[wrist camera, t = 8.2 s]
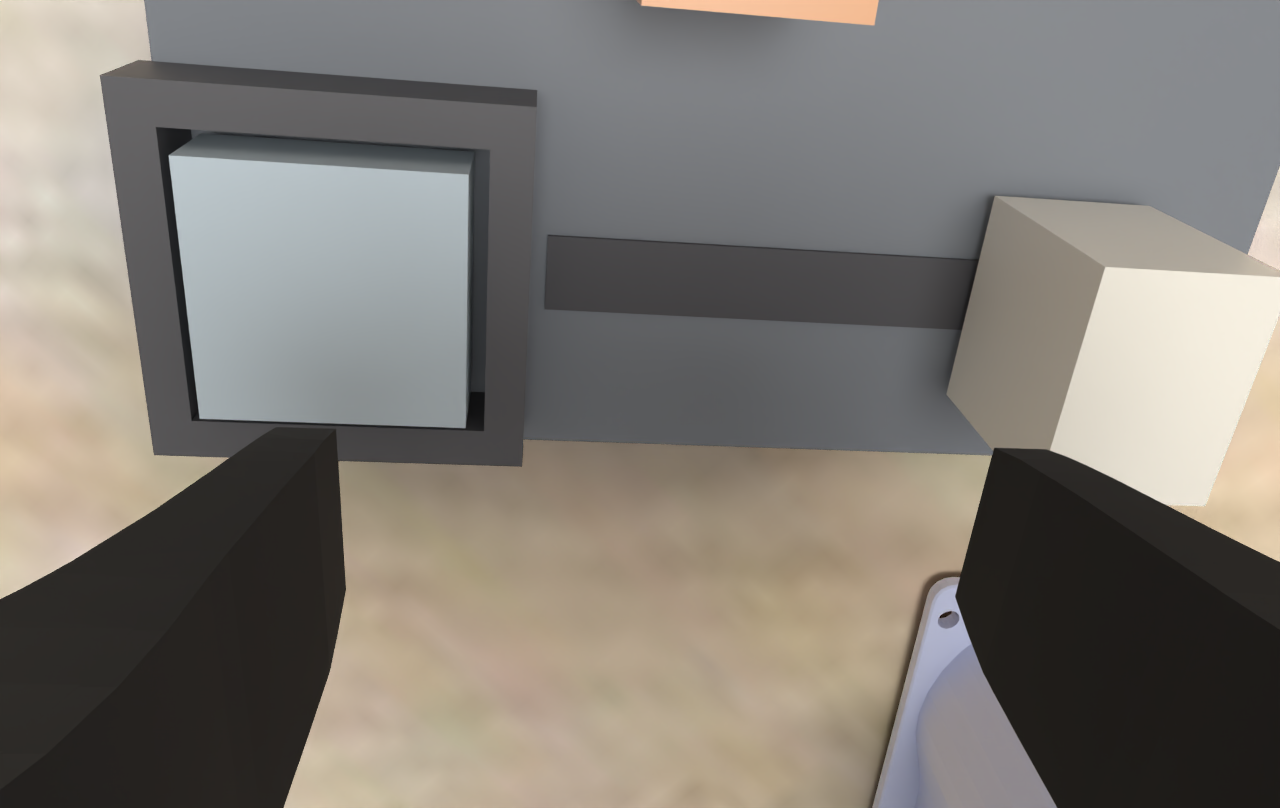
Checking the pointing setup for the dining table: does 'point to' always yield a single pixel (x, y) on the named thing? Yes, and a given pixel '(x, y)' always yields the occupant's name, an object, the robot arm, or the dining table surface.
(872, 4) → the terracotta slider
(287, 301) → the grey button
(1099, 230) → the ivory slider
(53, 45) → the dining table surface
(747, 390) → the control board
